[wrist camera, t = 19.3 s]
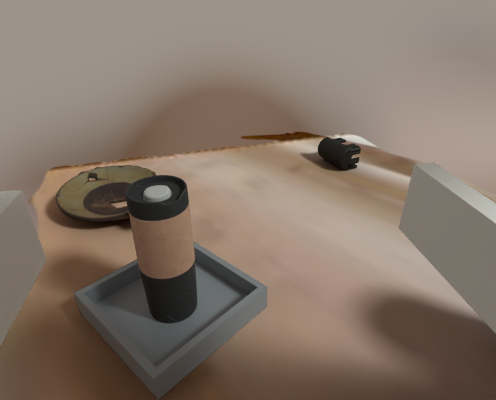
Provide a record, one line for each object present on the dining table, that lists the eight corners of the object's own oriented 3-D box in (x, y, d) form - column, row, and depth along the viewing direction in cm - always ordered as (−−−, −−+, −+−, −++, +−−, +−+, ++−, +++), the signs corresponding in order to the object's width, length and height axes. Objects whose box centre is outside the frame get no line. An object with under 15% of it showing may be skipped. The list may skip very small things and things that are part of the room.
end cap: (316, 160, 105) (318, 138, 102) (335, 156, 108) (338, 134, 104) (338, 173, 97) (341, 150, 94) (358, 168, 100) (362, 145, 97)
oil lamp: (154, 176, 96) (151, 149, 92) (180, 237, 72) (176, 203, 68) (63, 191, 88) (54, 163, 85) (57, 264, 64) (45, 229, 61)
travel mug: (155, 286, 58) (135, 173, 48) (203, 288, 57) (192, 174, 47) (141, 324, 51) (114, 202, 41) (194, 326, 51) (180, 204, 41)
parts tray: (184, 252, 67) (182, 234, 65) (266, 306, 55) (267, 286, 53) (80, 312, 54) (73, 293, 52) (158, 400, 42) (153, 378, 41)
